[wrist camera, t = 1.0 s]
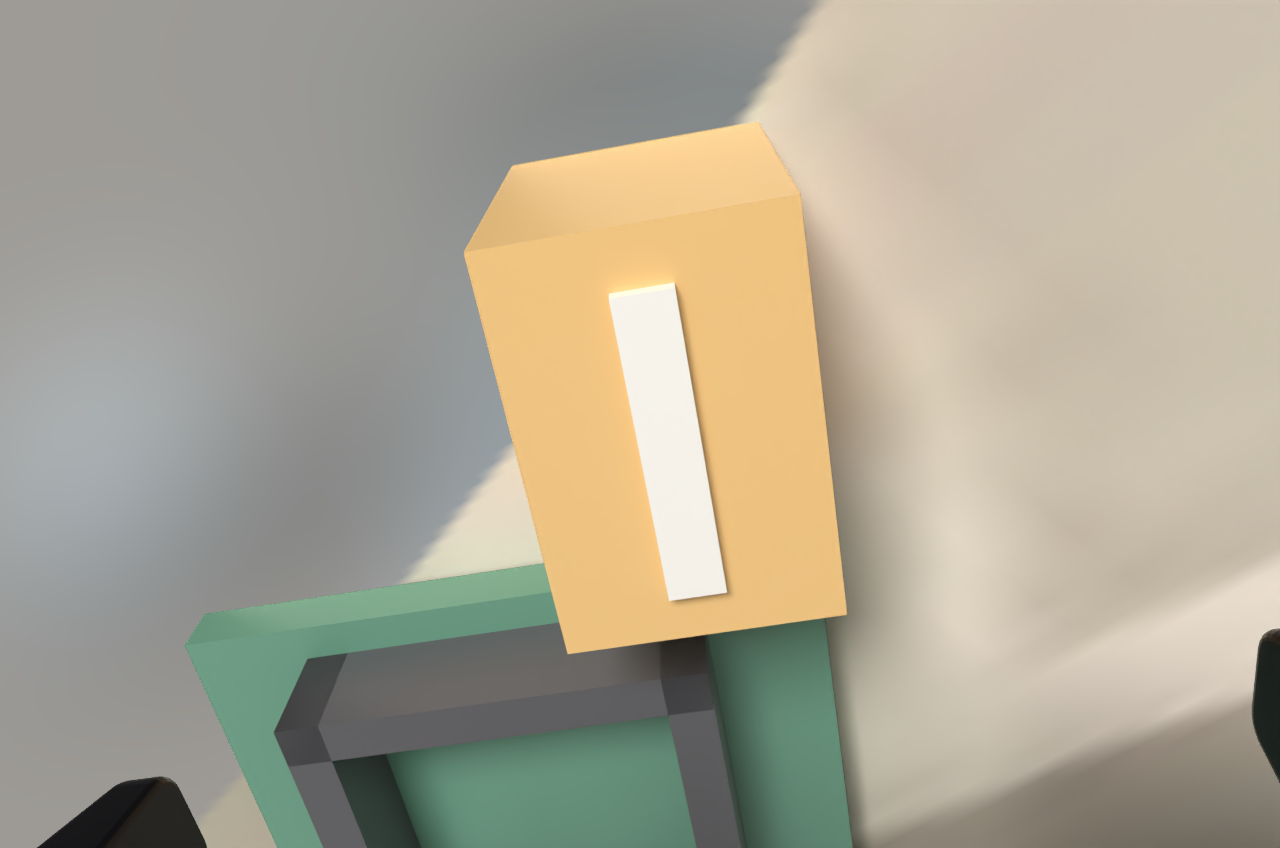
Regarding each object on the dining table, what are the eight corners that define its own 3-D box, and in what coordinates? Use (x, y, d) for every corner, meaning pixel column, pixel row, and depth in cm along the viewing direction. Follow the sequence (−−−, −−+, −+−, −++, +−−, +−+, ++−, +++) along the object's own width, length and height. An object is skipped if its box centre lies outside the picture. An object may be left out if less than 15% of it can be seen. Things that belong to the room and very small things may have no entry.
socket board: (857, 920, 24) (885, 1045, 21) (365, 978, 25) (331, 1104, 22) (808, 524, 19) (834, 620, 17) (204, 614, 20) (137, 718, 18)
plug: (798, 451, 19) (850, 623, 14) (585, 485, 19) (566, 663, 15) (757, 121, 16) (802, 197, 12) (512, 165, 17) (461, 257, 12)
